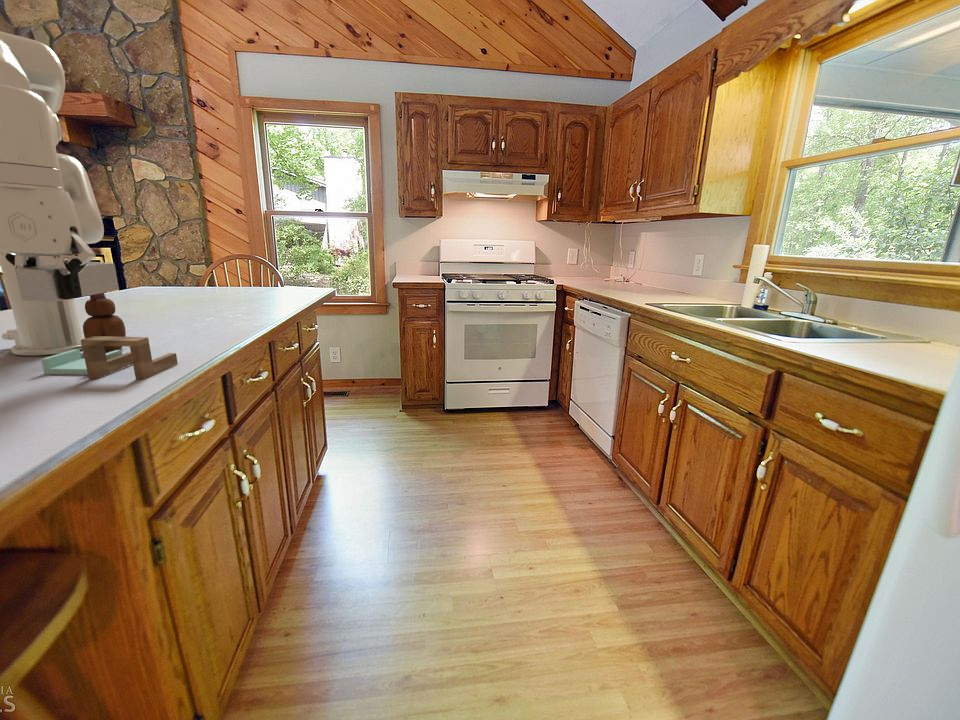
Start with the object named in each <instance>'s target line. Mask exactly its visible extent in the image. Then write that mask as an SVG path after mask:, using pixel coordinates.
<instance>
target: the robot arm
mask: <svg viewBox="0 0 960 720" xmlns="http://www.w3.org/2000/svg"><path fill="white" fill-rule="evenodd" d="M65 90H66V77H65V71H64V67H63V65H62V63H61V60H60V59H59V57H58V56H57V54H56V53H55V51H53V50H52V49H51V47H49V46H48V45H46V44H45V43H43V42H40V41H39V40H35V39H32V38H27V37H24V36H21V35H16V34H12V33H9V32H5V31H1V30H0V269H1V273H2V275H3V281H4V283H5V287H6V288H5V289H6V292H7V295H8V299H9V303H10V306H11V310H12V315H13V319H14V321H15V322H14V323H15V327H16V329H11V328H10V329H7V331H6V332H5V333H2V335H1V339H2V340H5V341H9V340H10V341H11V340H12V341H13V340H14V343H15V345H13V346H12V347H10V351H11V353H12V354H13V355H17V356H24V357H25V356H28V357H29V356H34V357H35V356H48V355H49V356H50V355H51V356H52V355H56V354H60V353H63V352H67V351H70V350H74V349H80V351H81V350H82V351H83V349H82V345H81V340H82V339H85V337H84V336H83V334H82V329H81V324H80V320H79V316H78V311H77V306H76V302H75V301H76V300H75V299H78V298H82V293H81V287H80V282H79V277H78V274H79V273H81V272H82V269H83V267H84V266H85V265H86V264H87V262H92V261H93V260H94V258H96V253H95V251H93V249H92V248H91V247H90V246H89V245H90V244H96V243H98V242H101V240H103V238H104V233H105V228H104V223H103V219H102V214H101V212H100V209H99V206H98V203H97V200H96V197H95V194H94V191H93V187H92V184H91V182H90V179H89V175H88V173H87V171H86V169H85V168H84V165H83V164H82V163H81V162H80V161H79V160H78V159H76V158H75V157H73V156H70V155H68V154H63V153H58V152H57V148H56V146H57V145H59V142H61V141H62V137H63V135H62V126H61V124H60V120H59V118H58V116H57V114H56V113H59V111H60V110H61V107H62V103H63V98H64V94H65ZM76 255H77V256H76ZM67 263H68V264H67ZM56 264H57V266H58V269H59V271H60V273H61V274H62V275H57V276H58V281H59V286H60V290H61V295H62V298H63V299H66V300H62V301H57V302H43V301H26V300H22V298H21V294H20V289H19V285H18V281H17V277H16V273H15V269H14V268H23V267H34V266H45V265H56Z"/></svg>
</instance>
